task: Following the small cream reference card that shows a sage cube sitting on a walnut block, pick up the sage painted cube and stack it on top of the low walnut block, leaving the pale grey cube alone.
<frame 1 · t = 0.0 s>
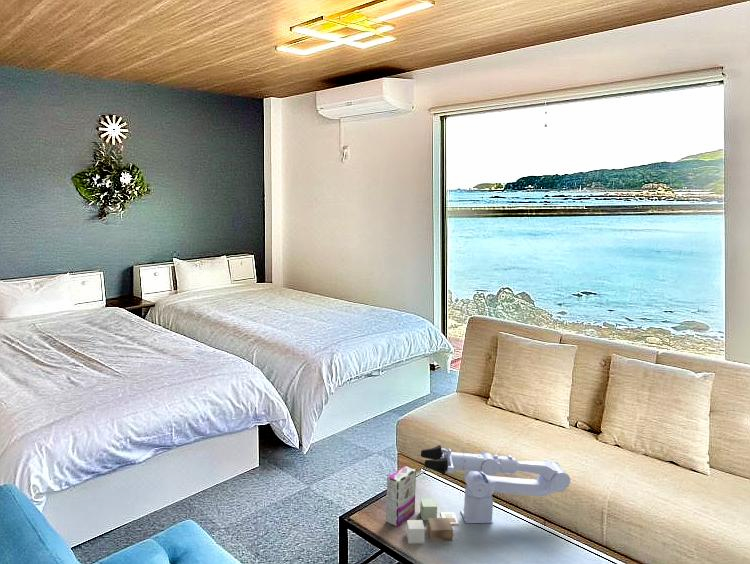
hand: (422, 458, 188), 22 cm above the table, tool horizontal, fingers open, 7 cm apart
reference card: (449, 518, 191), on the table
walnut block: (439, 535, 182), on the table
sage cube: (428, 516, 192), on the table
candy bar box: (400, 518, 191), on the table
pale grey cube: (415, 538, 179), on the table
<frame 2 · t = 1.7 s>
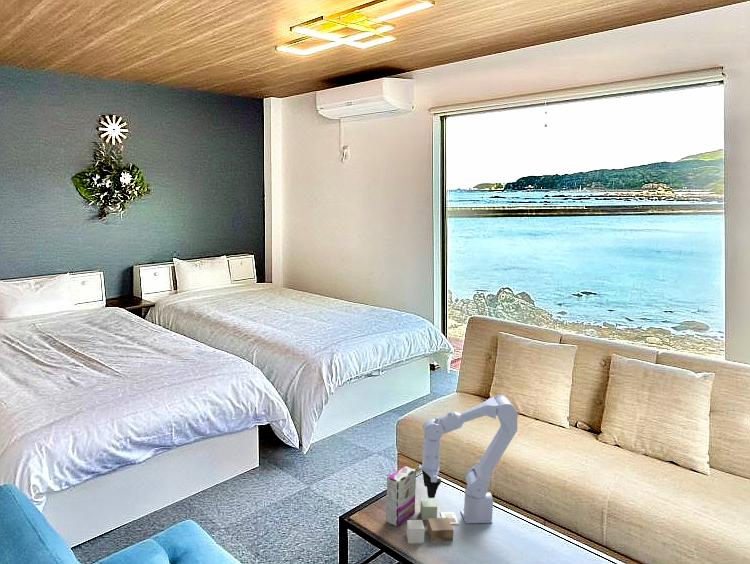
hand: (429, 491, 191), 9 cm above the table, tool pointing down, fingers open, 7 cm apart
nothing on the table moved.
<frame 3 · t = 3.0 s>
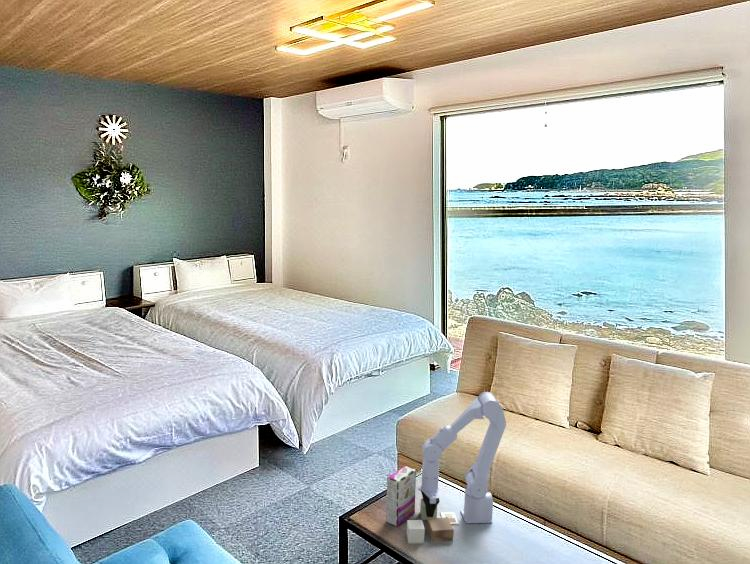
hand: (428, 512, 192), 1 cm above the table, tool pointing down, fingers closed on sage cube, 5 cm apart
sage cube: (428, 515, 192), on the table, touching gripper
everything else where it was.
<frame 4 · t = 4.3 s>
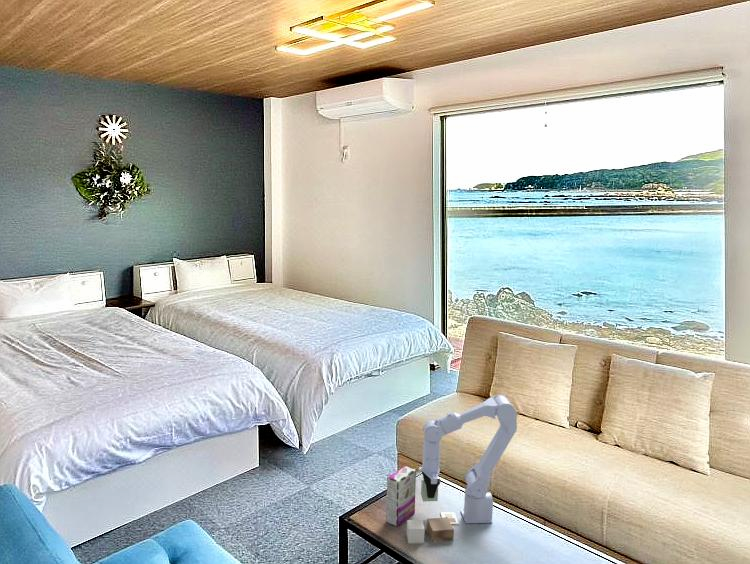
hand: (429, 493, 191), 8 cm above the table, tool pointing down, fingers closed on sage cube, 5 cm apart
sage cube: (429, 497, 191), point 7 cm above the table, touching gripper
everything else where it was.
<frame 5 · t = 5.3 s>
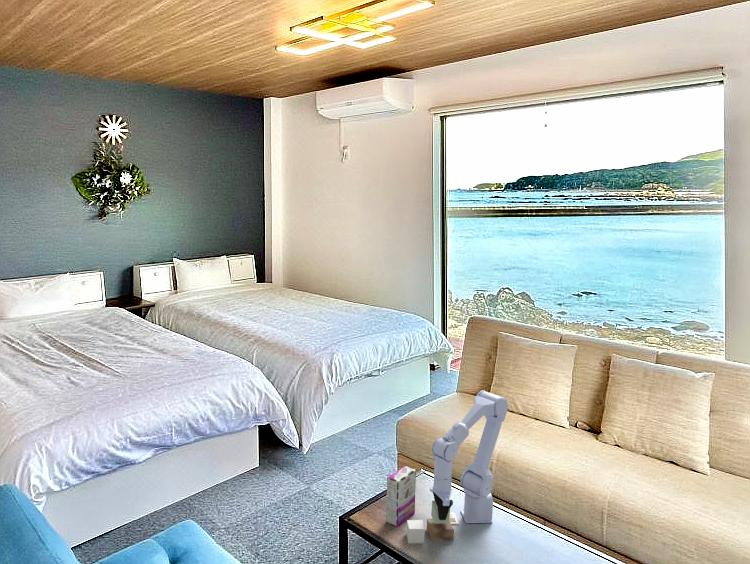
hand: (440, 514, 181), 7 cm above the table, tool pointing down, fingers closed on sage cube, 5 cm apart
sage cube: (440, 519, 181), point 5 cm above the table, touching gripper
everything else where it was.
when the fingers open (7 cm above the table, at t = 5.8 s): sage cube drops 1 cm, resting on walnut block.
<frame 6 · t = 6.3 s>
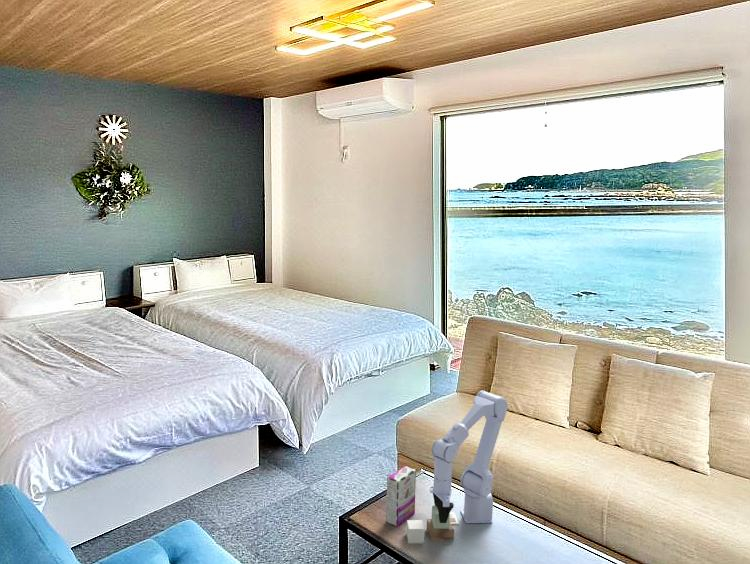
hand: (440, 515, 181), 7 cm above the table, tool pointing down, fingers open, 7 cm apart
walnut block: (439, 535, 182), on the table, touching sage cube
sage cube: (440, 524, 181), point 4 cm above the table, touching walnut block
everything else where it was.
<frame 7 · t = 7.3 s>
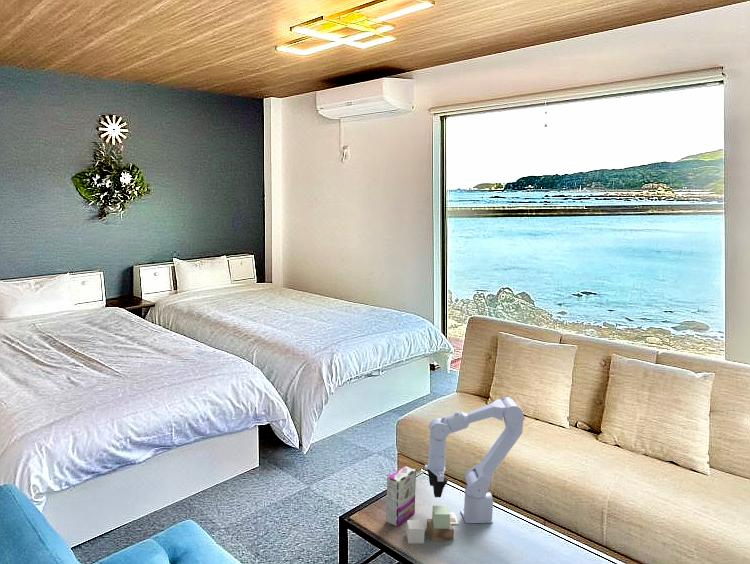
hand: (435, 491, 191), 9 cm above the table, tool pointing down, fingers open, 7 cm apart
walnut block: (439, 535, 182), on the table
sage cube: (440, 524, 181), point 4 cm above the table
everything else where it was.
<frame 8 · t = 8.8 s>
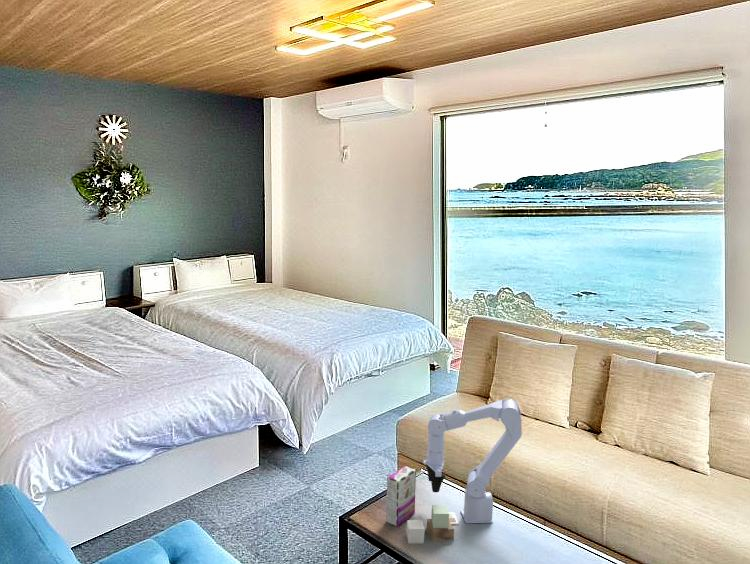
hand: (433, 486, 194), 9 cm above the table, tool pointing down, fingers open, 7 cm apart
walnut block: (439, 535, 182), on the table, touching sage cube
sage cube: (439, 523, 181), point 4 cm above the table, touching walnut block
everything else where it was.
at the end: sage cube 0.2 cm off-centre on the walnut block, point 4.0 cm above the walnut block's base; sage cube tilted 0°; the gripper is holding nothing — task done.
